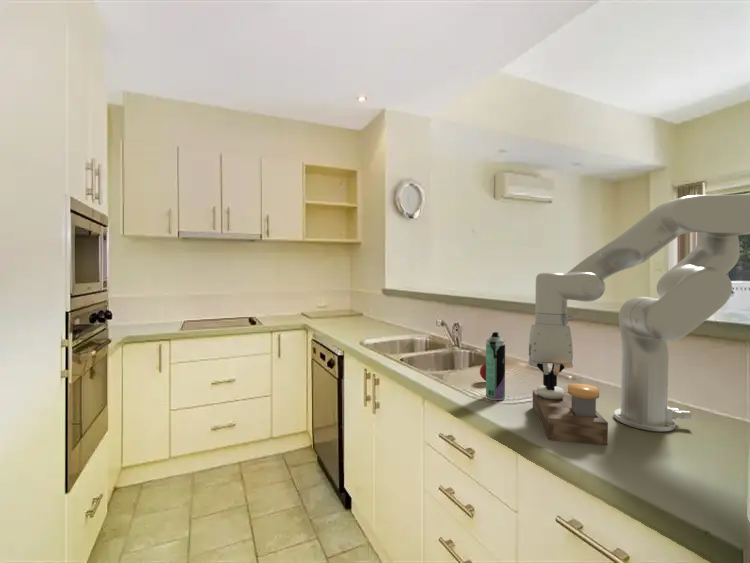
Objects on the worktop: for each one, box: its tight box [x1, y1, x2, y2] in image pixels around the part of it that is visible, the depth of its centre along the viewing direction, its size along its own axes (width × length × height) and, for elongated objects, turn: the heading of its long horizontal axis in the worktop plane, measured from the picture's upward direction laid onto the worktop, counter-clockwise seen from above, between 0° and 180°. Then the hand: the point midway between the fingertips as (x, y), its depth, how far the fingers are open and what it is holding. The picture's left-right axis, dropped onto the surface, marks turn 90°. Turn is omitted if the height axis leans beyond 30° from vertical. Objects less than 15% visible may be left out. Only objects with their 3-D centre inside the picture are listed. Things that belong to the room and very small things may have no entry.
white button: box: [536, 384, 565, 401], centre depth 97 cm, size 6×6×7 cm
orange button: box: [567, 382, 600, 418], centre depth 86 cm, size 6×6×7 cm
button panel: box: [532, 389, 609, 446], centre depth 92 cm, size 12×20×5 cm, turn 166°
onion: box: [479, 362, 486, 382], centre depth 126 cm, size 6×6×8 cm
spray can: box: [485, 331, 506, 401], centre depth 111 cm, size 6×6×20 cm
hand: (549, 388), depth 97 cm, fingers closed
